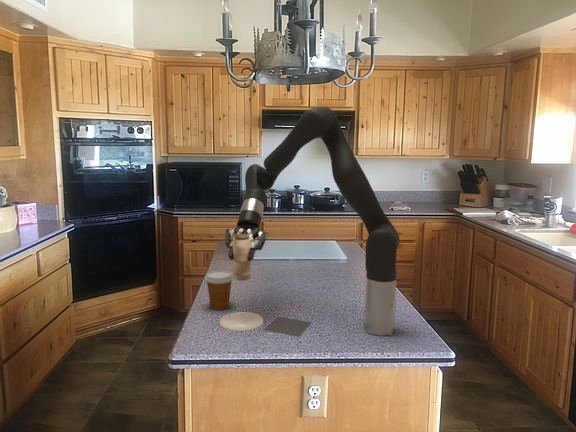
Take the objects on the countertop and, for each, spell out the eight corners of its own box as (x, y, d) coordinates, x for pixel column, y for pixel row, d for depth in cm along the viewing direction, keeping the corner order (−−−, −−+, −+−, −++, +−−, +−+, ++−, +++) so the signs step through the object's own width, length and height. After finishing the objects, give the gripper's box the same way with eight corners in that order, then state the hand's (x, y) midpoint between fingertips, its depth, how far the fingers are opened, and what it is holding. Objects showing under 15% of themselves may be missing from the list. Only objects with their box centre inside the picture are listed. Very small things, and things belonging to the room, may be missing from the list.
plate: (270, 319, 156) (270, 315, 156) (251, 335, 143) (251, 331, 143) (232, 312, 161) (232, 309, 161) (211, 327, 148) (211, 324, 148)
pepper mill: (253, 276, 151) (253, 234, 149) (245, 281, 146) (245, 237, 144) (238, 274, 153) (238, 232, 151) (230, 279, 148) (230, 236, 146)
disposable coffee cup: (203, 303, 169) (202, 271, 167) (229, 300, 173) (229, 269, 171) (209, 313, 160) (208, 279, 158) (236, 309, 164) (236, 276, 162)
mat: (311, 323, 153) (311, 322, 153) (299, 338, 142) (299, 336, 142) (278, 318, 157) (278, 316, 157) (263, 331, 146) (263, 330, 146)
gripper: (227, 207, 155) (215, 251, 145) (270, 209, 152) (260, 254, 142) (232, 220, 161) (221, 263, 151) (273, 222, 158) (264, 266, 148)
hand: (240, 259), depth 147 cm, fingers closed on pepper mill, 5 cm apart
